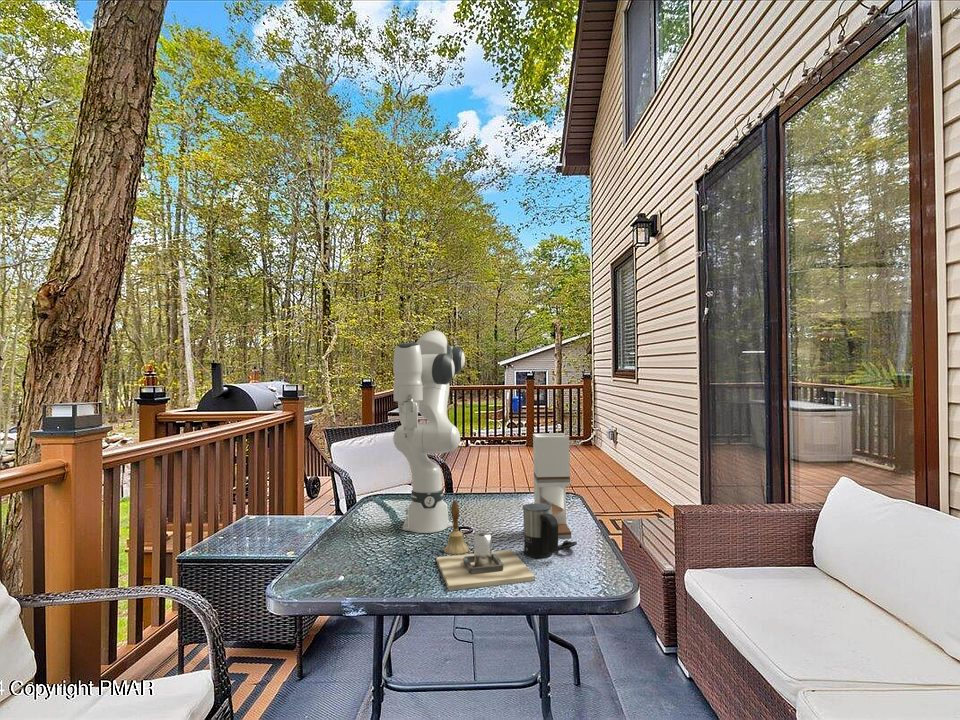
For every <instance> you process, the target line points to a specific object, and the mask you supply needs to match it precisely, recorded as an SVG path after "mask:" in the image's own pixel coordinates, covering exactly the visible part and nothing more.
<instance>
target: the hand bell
mask: <svg viewBox="0 0 960 720" xmlns="http://www.w3.org/2000/svg"><path fill="white" fill-rule="evenodd" d="M450 514H451V518H452V524H453V526H452V529H453V530H452V531H451V532H449V535H448V542H447V544H446V546H445V547H444V548H443V553H445V554H447V555H451V556H454V555H464V554H467V553H469V550H470V547H469V546H468V545H467V544H466V542H465V540H464V533H463V532H462V531H460V530H459V516H460V507H459V504H458V501H457V500H454V499H453V500H452V504H451V508H450Z"/></svg>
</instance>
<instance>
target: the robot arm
mask: <svg viewBox="0 0 960 720" xmlns="http://www.w3.org/2000/svg"><path fill="white" fill-rule="evenodd" d="M393 353H394V355H393V363H392V365H393V370H392V371H393V372H392V373H393V375H394V381H393V402H397V407H398V415H399V422H400V424H402V425H398V427H396V429H395V430H394V433H393V437H392V441H393V445H394V446H395V448H396V450H398V451H399V452H400V453H401V454H402V455H404V457H405V458H406V460H407V461H408V464H409V466H410V467H409V468H410V469H411V470H410V471H411V481H412V484H411V486H412V490H411V491H410V492H411V494H410V496H411V497H410V498H411V502H410V504H409V506H407V508H406V507H405V515H407V516H406V517H405V520H404V523H403V525H402V529H401V530H403V531H406V532H408V531H409V532H413V533H418V534H430V533H431V534H432V533H438V532H441V531H445V530H446V529H447V528H450V527H453V521H450V520H449V513H448V504H447V503H446V501H444V489H443V478H442V476H443V473H442V469H441V467H440V465H439V464H437V463H436V462H435V461H432V460H431V459H430V458H429V457H428V454H446V453H450V452H454V451H456V450H457V448H458V447H459V445H460V443H461V435H460V433H461V432H460V430H459V429H458V428H457V427H456V425H454V424H453V423H452V422H451V421H450V419H449V417H448V412H447V411H448V402H449V398H450V397H449V395H450V382H452V381H453V379H454V377H455V376H456V375H457V374H459V373H460V372H461V371H462V370H463V367H464V366H465V362H466V355H465V353H464V350H463V348H461V347H458V346H455V345H453V346H451V345H449V344H448V339H447V336H446V335H445V334H444V333H443V332H442V331H440V330H437V329H434V330H430V331H427V332H425V333H423V335H421V336H420V337H419V338H418V339H417V341H416V342H401V343H398V344H397V345H395V348H394V351H393ZM418 412H419V413H418ZM419 414H420V415H421V417H423V418H424V419H426V420H427V421H429V422H428V423H426V422H425V423H419Z"/></svg>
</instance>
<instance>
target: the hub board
mask: <svg viewBox="0 0 960 720" xmlns="http://www.w3.org/2000/svg"><path fill="white" fill-rule="evenodd" d="M491 557H492V565H490V566H481V567H475V566H474V553H463V554H457V555H448V556H447V555H446V556H436V563H437V566H438V568H439V570H440V573H441V575H442V579H443V580H444V583H445V584H446V587H447V589H448V591H456V590H467V589H468V590H469V589H476V588H483V587H484V588H485V587H493V586H502V585H509V584H517V583H523V582H525V583H526V582H532V581H534V582H535V581H536V575H535V574H534V573H533V572H532V571H531V570H530V568H529V567H528V566H526V565H527V564H525V563H524V562H523V561H522V560H521V558H520V557H519V556H518V555H517V554H516V553H515V552H514V551H513V550H512V549H505V550H495V551H491Z"/></svg>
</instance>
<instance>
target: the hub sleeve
mask: <svg viewBox="0 0 960 720" xmlns="http://www.w3.org/2000/svg"><path fill="white" fill-rule="evenodd" d="M473 552H474V553H473V554H474V566H475V567H481V566H490V565H492V557H491V552H492V534H491V533H490V532H487V531H478V532H475V533H474V534H473Z"/></svg>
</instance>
